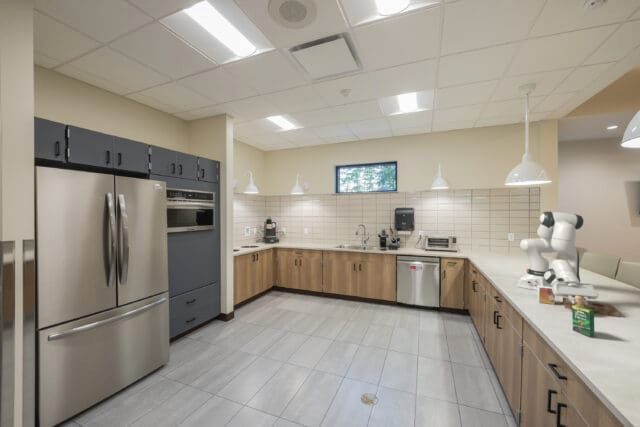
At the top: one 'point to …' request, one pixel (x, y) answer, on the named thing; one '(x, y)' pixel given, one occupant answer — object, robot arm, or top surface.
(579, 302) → the oak peg
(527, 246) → the robot arm
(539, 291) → the small box
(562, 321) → the top surface
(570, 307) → the walnut board
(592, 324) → the coffee box
